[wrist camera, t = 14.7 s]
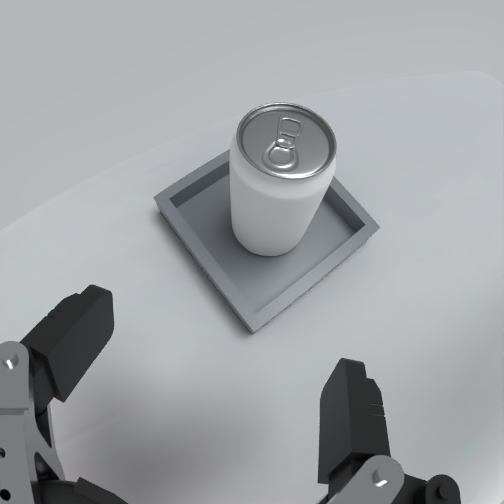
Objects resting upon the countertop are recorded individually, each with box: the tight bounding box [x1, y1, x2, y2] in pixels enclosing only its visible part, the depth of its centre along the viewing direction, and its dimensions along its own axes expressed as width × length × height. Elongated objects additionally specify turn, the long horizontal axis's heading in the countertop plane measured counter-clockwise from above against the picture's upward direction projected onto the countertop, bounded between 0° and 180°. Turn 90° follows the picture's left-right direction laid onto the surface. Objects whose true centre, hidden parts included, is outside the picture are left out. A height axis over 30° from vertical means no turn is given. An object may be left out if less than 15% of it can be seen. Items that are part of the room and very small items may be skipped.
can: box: [229, 103, 336, 256], centre depth 22 cm, size 6×6×12 cm
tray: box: [154, 149, 380, 335], centre depth 27 cm, size 14×14×3 cm
